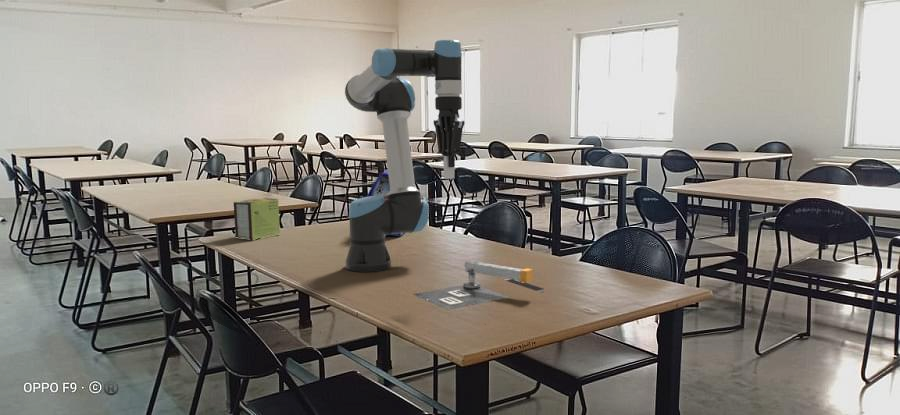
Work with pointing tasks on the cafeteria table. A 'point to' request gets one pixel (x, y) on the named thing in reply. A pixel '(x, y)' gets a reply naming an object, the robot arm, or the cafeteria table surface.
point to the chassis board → (470, 287)
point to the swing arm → (500, 271)
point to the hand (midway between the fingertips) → (449, 178)
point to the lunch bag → (382, 189)
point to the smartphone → (525, 285)
